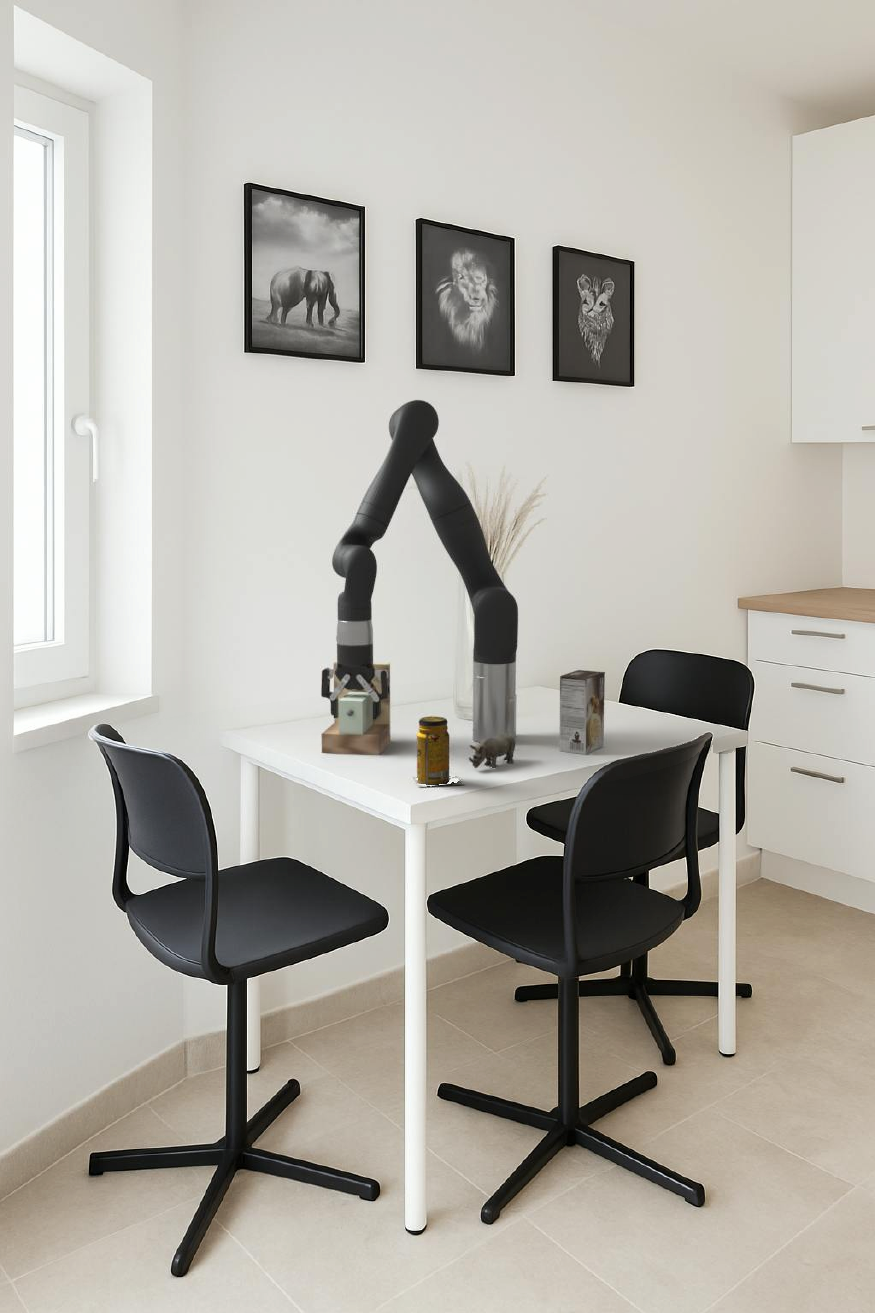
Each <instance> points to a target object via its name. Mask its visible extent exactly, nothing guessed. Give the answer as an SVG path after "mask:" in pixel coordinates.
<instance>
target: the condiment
mask: <svg viewBox="0 0 875 1313" xmlns="http://www.w3.org/2000/svg"><path fill="white" fill-rule="evenodd" d="M416 750H417V751H416V776H412V779H413V781H414V783H415V784H416V785H417V784H426V785H439V784H447V783H448V782H449V777H451V776H449V775H450V733H449V731H448V720H447V718H445V717H441V716H433V715H432V716H424V717H421V718H419V720H418V732H417V735H416ZM415 778H418V780H416V779H415ZM452 778H459V777H458V775H457V776H455V777H452ZM451 784H452V785H451V786H458V785H464V784H465V783H464V782H463V781H462V780H461V781H458V782H457V783H454V782H452V783H451ZM417 786H418V787H419V788H422V787H423V788H428V787H427V786H421V785H417ZM430 787H432V786H430ZM430 787H429V788H430Z"/></svg>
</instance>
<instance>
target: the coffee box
mask: <svg viewBox="0 0 875 1313" xmlns="http://www.w3.org/2000/svg"><path fill="white" fill-rule="evenodd" d="M605 673H606V672H605V671H593V670H582V669H579V670H578V669H577V670H574V671H572V672H569V673H565V674H562V675H560V677H559V735H558V736H559V738H558V739H559V744H558V745H559V746H558V747H559V750H558V751H560V752H564V753H571V754H577V755H585V756H586V755H588V754H591V753H592V752H594V751H596V750H598V749H600V748H602V747H604V740H605V738H604V737H605V736H604V735H605V734H604V732H605V730H604V729H605V684H606V683H605V682H606V681H605V678H606V675H605Z"/></svg>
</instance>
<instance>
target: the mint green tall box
mask: <svg viewBox="0 0 875 1313" xmlns="http://www.w3.org/2000/svg"><path fill="white" fill-rule="evenodd" d="M338 706H339V734H358V735H363V734H364V733H365V732H366V731H367V730H368V729H369V728H370V727H371V726H372V725H373V699H372V697H371V696H370V694H368V693H367V692H349V693H347V694H346V695H345V696H344V697H342V698H341V699H340V700H338Z"/></svg>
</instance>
